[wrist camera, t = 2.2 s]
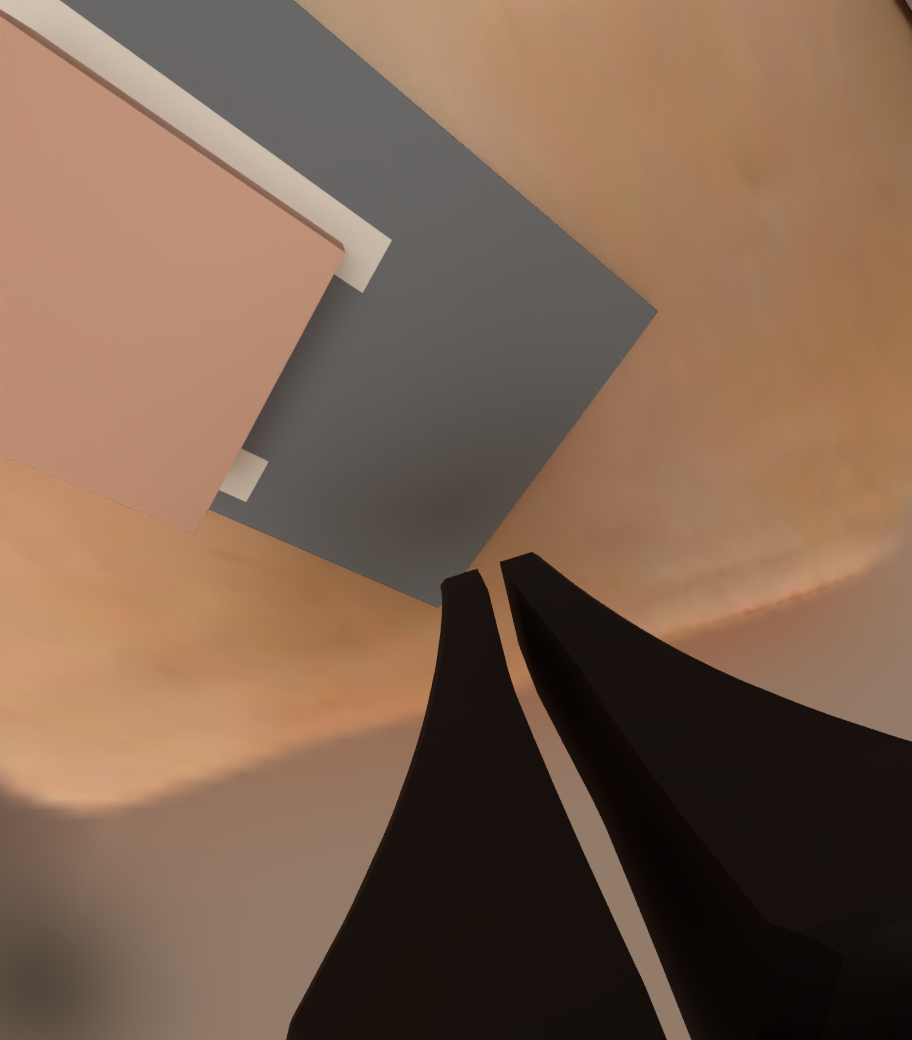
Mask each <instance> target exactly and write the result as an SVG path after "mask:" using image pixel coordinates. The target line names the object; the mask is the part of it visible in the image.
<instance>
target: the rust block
mask: <svg viewBox="0 0 912 1040" xmlns="http://www.w3.org/2000/svg"><path fill="white" fill-rule="evenodd" d="M344 254H345V250H344V246H343V243H342V242H340V241H339V240H337V239H336V238H334V237H333V236H331V235H330V234H328V233H327V232H326V231H324V230H323V229H321V228H320V227H318V226H317V225H315V224H314V223H313V222H311V221H310V220H308V219H307V218H305V217H304V216H302V215H301V214H300V213H298V212H297V211H295V210H294V209H292V208H291V207H289V206H288V205H287V204H285V203H284V202H282V201H281V200H279V199H278V198H276V197H275V196H273V195H272V194H271V193H269V192H268V191H266V190H265V189H263V188H262V187H260V186H259V185H258V184H256V183H255V182H253V181H252V180H250V179H249V178H247V177H246V176H245V175H243V174H242V173H240V172H239V171H237V170H236V169H234V168H233V167H232V166H230V165H229V164H227V163H226V162H224V161H223V160H221V159H220V158H218V157H217V156H216V155H214V154H213V153H211V152H210V151H208V150H207V149H205V148H204V147H203V146H201V145H200V144H198V143H197V142H195V141H194V140H192V139H191V138H190V137H188V136H187V135H185V134H184V133H182V132H181V131H179V130H178V129H177V128H175V127H174V126H172V125H171V124H169V123H168V122H166V121H165V120H163V119H162V118H161V117H159V116H158V115H156V114H155V113H153V112H152V111H150V110H149V109H148V108H146V107H145V106H143V105H142V104H140V103H139V102H137V101H136V100H135V99H133V98H132V97H130V96H129V95H127V94H126V93H124V92H123V91H122V90H120V89H119V88H117V87H116V86H114V85H113V84H111V83H110V82H108V81H107V80H106V79H104V78H103V77H101V76H100V75H98V74H97V73H95V72H94V71H93V70H91V69H90V68H88V67H87V66H85V65H84V64H82V63H81V62H80V61H78V60H77V59H75V58H74V57H72V56H71V55H69V54H68V53H67V52H65V51H64V50H62V49H61V48H59V47H58V46H56V45H55V44H53V43H52V42H51V41H49V40H48V39H46V38H45V37H43V36H42V35H40V34H39V33H38V32H36V31H35V30H33V29H32V28H30V27H28V26H27V25H25V24H24V23H22V22H20V21H19V20H17V19H15V18H14V17H12V16H11V15H9V14H7V13H6V12H4V11H2V10H1V9H0V456H3V457H5V458H8V459H10V460H12V461H15V462H17V463H20V464H22V465H25V466H27V467H30V468H32V469H35V470H37V471H39V472H42V473H44V474H47V475H49V476H52V477H54V478H57V479H59V480H62V481H64V482H66V483H69V484H71V485H74V486H76V487H79V488H81V489H84V490H86V491H89V492H91V493H93V494H96V495H98V496H101V497H103V498H106V499H108V500H111V501H113V502H116V503H118V504H120V505H123V506H125V507H128V508H130V509H133V510H135V511H138V512H140V513H143V514H145V515H147V516H150V517H152V518H155V519H157V520H160V521H162V522H165V523H167V524H170V525H172V526H174V527H177V528H179V529H182V530H184V531H187V532H189V533H192V534H194V535H195V534H196V532H197V530H198V528H199V526H200V524H201V522H202V520H203V519H204V517H205V515H206V513H207V511H208V509H209V507H210V505H211V504H212V502H213V500H214V498H215V496H216V494H217V492H218V490H219V489H220V487H221V485H222V483H223V481H224V479H225V477H226V475H227V474H228V472H229V470H230V468H231V466H232V464H233V462H234V460H235V459H236V457H237V455H238V453H239V451H240V449H241V447H242V445H243V444H244V442H245V440H246V438H247V436H248V434H249V432H250V430H251V429H252V427H253V425H254V423H255V421H256V419H257V417H258V415H259V414H260V412H261V410H262V408H263V406H264V404H265V402H266V400H267V399H268V397H269V395H270V393H271V391H272V389H273V387H274V385H275V384H276V382H277V380H278V378H279V376H280V374H281V372H282V370H283V369H284V367H285V365H286V363H287V361H288V359H289V357H290V356H291V354H292V352H293V350H294V348H295V346H296V344H297V342H298V341H299V339H300V337H301V335H302V333H303V331H304V329H305V327H306V326H307V324H308V322H309V320H310V318H311V316H312V314H313V312H314V311H315V309H316V307H317V305H318V303H319V301H320V299H321V297H322V296H323V294H324V292H325V290H326V288H327V286H328V284H329V282H330V281H331V279H332V277H333V275H334V273H335V271H336V269H337V267H338V266H339V264H340V262H341V260H342V258H343V256H344Z"/></svg>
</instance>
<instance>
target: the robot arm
mask: <svg viewBox="0 0 912 1040" xmlns="http://www.w3.org/2000/svg"><path fill="white" fill-rule="evenodd" d="M906 2H907V4H908V5H909V7H910V8H911V10H912V0H906ZM500 565H501V570H502V574H503V578H504V583H505V587H506V591H507V596H508V600H509V604H510V609H511V613H512V617H513V622H514V626H515V630H516V635H517V639H518V643H519V646H520V649H521V652H522V654H523V657H524V660H525V662H526V665H527V668H528V670H529V673H530V675H531V678H532V680H533V683H534V686H535V688H536V691H537V693H538V695H539V697H540V699H541V701H542V703H543V705H544V707H545V709H546V711H547V713H548V715H549V716H550V719H551V720H552V722H553V724H554V726H555V728H556V730H557V732H558V734H559V736H560V737H561V740H562V742H563V744H564V745H565V748H566V749H567V751H568V753H569V755H570V757H571V759H572V761H573V763H574V765H575V767H576V769H577V771H578V773H579V774H580V776H581V778H582V780H583V782H584V784H585V786H586V787H587V790H588V792H589V793H590V795H591V797H592V799H593V801H594V803H595V806H596V808H597V810H598V812H599V814H600V816H601V818H602V820H603V823H604V825H605V827H606V829H607V831H608V834H609V836H610V839H611V841H612V844H613V846H614V848H615V851H616V853H617V855H618V858H619V860H620V863H621V865H622V868H623V870H624V873H625V875H626V878H627V880H628V882H629V884H630V887H631V890H632V892H633V895H634V897H635V900H636V902H637V905H638V907H639V909H640V912H641V914H642V917H643V919H644V922H645V924H646V927H647V929H648V932H649V934H650V937H651V939H652V942H653V944H654V947H655V949H656V952H657V954H658V956H659V959H660V962H661V964H662V967H663V969H664V972H665V974H666V977H667V979H668V982H669V984H670V987H671V990H672V992H673V994H674V997H675V1000H676V1002H677V1005H678V1007H679V1009H680V1012H681V1015H682V1017H683V1020H684V1022H685V1025H686V1028H687V1030H688V1032H689V1035H690V1037H691V1040H912V742H911V741H908V740H904V739H901V738H898V737H895V736H892V735H888V734H885V733H882V732H879V731H876V730H873V729H870V728H867V727H864V726H861V725H858V724H855V723H852V722H849V721H846V720H843V719H840V718H837V717H834V716H831V715H828V714H826V713H823V712H820V711H817V710H815V709H812V708H809V707H806V706H804V705H801V704H799V703H796V702H794V701H791V700H788V699H786V698H784V697H781V696H778V695H776V694H774V693H771V692H769V691H766V690H764V689H761V688H759V687H756V686H754V685H751V684H749V683H746V682H744V681H742V680H739V679H737V678H735V677H733V676H730V675H728V674H726V673H724V672H722V671H719V670H717V669H715V668H713V667H711V666H709V665H707V664H705V663H703V662H701V661H699V660H697V659H695V658H693V657H691V656H689V655H687V654H685V653H683V652H681V651H680V650H678V649H676V648H674V647H672V646H670V645H669V644H667V643H665V642H663V641H661V640H660V639H658V638H656V637H654V636H653V635H651V634H649V633H648V632H646V631H644V630H643V629H641V628H639V627H638V626H636V625H634V624H633V623H631V622H629V621H628V620H626V619H625V618H623V617H622V616H620V615H618V614H617V613H615V612H614V611H612V610H611V609H609V608H608V607H606V606H605V605H604V604H602V603H601V602H599V601H598V600H596V599H595V598H593V597H592V596H590V595H589V594H587V593H586V592H585V591H583V590H582V589H580V588H579V587H578V586H576V585H575V584H574V583H572V582H571V581H570V580H568V579H567V578H566V577H564V576H563V575H562V574H561V573H559V572H558V571H557V570H556V569H554V568H553V567H552V566H551V565H549V564H548V563H547V562H546V561H544V560H543V559H542V558H541V557H540V556H538V555H536V554H535V553H533V552H531V553H527V554H524V555H521V556H518V557H514V558H511V559H508V560H505V561H501V562H500ZM440 587H441V593H442V620H441V633H440V640H439V647H438V654H437V662H436V668H435V673H434V678H433V682H432V687H431V691H430V696H429V701H428V705H427V710H426V714H425V717H424V721H423V725H422V729H421V732H420V736H419V739H418V742H417V745H416V749H415V752H414V755H413V758H412V761H411V764H410V767H409V770H408V773H407V776H406V779H405V781H404V784H403V787H402V790H401V792H400V795H399V798H398V800H397V803H396V806H395V809H394V811H393V814H392V816H391V819H390V821H389V824H388V826H387V829H386V831H385V833H384V836H383V838H382V841H381V843H380V845H379V847H378V849H377V851H376V854H375V856H374V858H373V860H372V862H371V865H370V867H369V869H368V871H367V873H366V876H365V878H364V880H363V882H362V884H361V886H360V889H359V891H358V893H357V895H356V897H355V900H354V902H353V904H352V906H351V908H350V910H349V912H348V914H347V916H346V918H345V920H344V922H343V924H342V926H341V928H340V930H339V932H338V934H337V936H336V937H335V939H334V941H333V943H332V945H331V947H330V948H329V950H328V952H327V954H326V956H325V958H324V960H323V962H322V963H321V965H320V967H319V969H318V971H317V973H316V975H315V977H314V978H313V980H312V982H311V984H310V986H309V988H308V990H307V992H306V993H305V995H304V997H303V999H302V1001H301V1003H300V1004H299V1006H298V1008H297V1010H296V1012H295V1014H294V1016H293V1018H292V1020H291V1022H290V1026H289V1030H288V1034H287V1039H286V1040H667V1039H666V1037H665V1034H664V1032H663V1029H662V1027H661V1024H660V1022H659V1019H658V1017H657V1014H656V1012H655V1010H654V1007H653V1004H652V1002H651V999H650V997H649V995H648V992H647V990H646V987H645V985H644V983H643V980H642V978H641V976H640V974H639V972H638V970H637V968H636V966H635V964H634V961H633V959H632V957H631V955H630V953H629V951H628V949H627V947H626V944H625V942H624V940H623V938H622V936H621V934H620V931H619V929H618V927H617V925H616V923H615V921H614V918H613V916H612V914H611V912H610V909H609V907H608V905H607V903H606V901H605V899H604V896H603V894H602V892H601V890H600V888H599V885H598V883H597V881H596V879H595V877H594V874H593V872H592V870H591V868H590V866H589V863H588V861H587V859H586V857H585V855H584V852H583V850H582V848H581V846H580V843H579V841H578V839H577V837H576V834H575V832H574V830H573V828H572V825H571V823H570V821H569V818H568V816H567V814H566V811H565V809H564V807H563V805H562V802H561V800H560V798H559V796H558V793H557V791H556V789H555V786H554V784H553V782H552V779H551V777H550V775H549V772H548V770H547V768H546V765H545V763H544V761H543V758H542V756H541V754H540V751H539V749H538V747H537V744H536V742H535V739H534V737H533V735H532V732H531V730H530V727H529V725H528V722H527V720H526V717H525V715H524V713H523V710H522V708H521V705H520V703H519V700H518V698H517V696H516V693H515V690H514V687H513V684H512V681H511V678H510V675H509V672H508V668H507V664H506V660H505V656H504V652H503V648H502V644H501V640H500V636H499V632H498V628H497V624H496V620H495V616H494V612H493V608H492V604H491V600H490V596H489V592H488V589H487V587H486V585H485V583H484V581H483V579H482V577H481V575H480V573H479V571H478V569H475V570H472V571H469V572H465V573H462V574H459V575H456V576H452V577H449V578H446V579H444V581H443V582H442V584H441V585H440Z"/></svg>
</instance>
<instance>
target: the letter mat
mask: <svg viewBox="0 0 912 1040" xmlns="http://www.w3.org/2000/svg"><path fill="white" fill-rule="evenodd" d="M0 9H1V10H2V11H4V12H6V13H7V14H9V15H11V16H12V17H14V18H15V19H17V20H19V21H20V22H22V23H24V24H25V25H27V26H28V27H30V28H32V29H33V30H35V31H36V32H38V33H39V34H40V35H42V36H43V37H45V38H46V39H48V40H49V41H51V42H52V43H53V44H55V45H56V46H58V47H59V48H61V49H62V50H64V51H65V52H67V53H68V54H69V55H71V56H72V57H74V58H75V59H77V60H78V61H80V62H81V63H82V64H84V65H85V66H87V67H88V68H90V69H91V70H93V71H94V72H95V73H97V74H98V75H100V76H101V77H103V78H104V79H106V80H107V81H108V82H110V83H111V84H113V85H114V86H116V87H117V88H119V89H120V90H122V91H123V92H124V93H126V94H127V95H129V96H130V97H132V98H133V99H135V100H136V101H137V102H139V103H140V104H142V105H143V106H145V107H146V108H148V109H149V110H150V111H152V112H153V113H155V114H156V115H158V116H159V117H161V118H162V119H163V120H165V121H166V122H168V123H169V124H171V125H172V126H174V127H175V128H177V129H178V130H179V131H181V132H182V133H184V134H185V135H187V136H188V137H190V138H191V139H192V140H194V141H195V142H197V143H198V144H200V145H201V146H203V147H204V148H205V149H207V150H208V151H210V152H211V153H213V154H214V155H216V156H217V157H218V158H220V159H221V160H223V161H224V162H226V163H227V164H229V165H230V166H232V167H233V168H234V169H236V170H237V171H239V172H240V173H242V174H243V175H245V176H246V177H247V178H249V179H250V180H252V181H253V182H255V183H256V184H258V185H259V186H260V187H262V188H263V189H265V190H266V191H268V192H269V193H271V194H272V195H273V196H275V197H276V198H278V199H279V200H281V201H282V202H284V203H285V204H287V205H288V206H289V207H291V208H292V209H294V210H295V211H297V212H298V213H300V214H301V215H302V216H304V217H305V218H307V219H308V220H310V221H311V222H313V223H314V224H315V225H317V226H318V227H320V228H321V229H323V230H324V231H326V232H327V233H328V234H330V235H331V236H333V237H334V238H336V239H337V240H339V241H340V242H342V243H343V246H344V250H345V254H344V256H343V258H342V260H341V262H340V264H339V266H338V267H337V269H336V271H335V273H334V275H333V277H332V279H331V281H330V282H329V284H328V286H327V288H326V290H325V292H324V294H323V296H322V297H321V299H320V301H319V303H318V305H317V307H316V309H315V311H314V312H313V314H312V316H311V318H310V320H309V322H308V324H307V326H306V327H305V329H304V331H303V333H302V335H301V337H300V339H299V341H298V342H297V344H296V346H295V348H294V350H293V352H292V354H291V356H290V357H289V359H288V361H287V363H286V365H285V367H284V369H283V370H282V372H281V374H280V376H279V378H278V380H277V382H276V384H275V385H274V387H273V389H272V391H271V393H270V395H269V397H268V399H267V400H266V402H265V404H264V406H263V408H262V410H261V412H260V414H259V415H258V417H257V419H256V421H255V423H254V425H253V427H252V429H251V430H250V432H249V434H248V436H247V438H246V440H245V442H244V444H243V445H242V447H241V449H240V451H239V453H238V455H237V457H236V459H235V460H234V462H233V464H232V466H231V468H230V470H229V472H228V474H227V475H226V477H225V479H224V481H223V483H222V485H221V487H220V489H219V490H218V492H217V494H216V496H215V498H214V500H213V502H212V504H211V505H210V507H209V510H212V511H214V512H216V513H219V514H221V515H223V516H226V517H228V518H230V519H233V520H235V521H237V522H240V523H242V524H244V525H246V526H249V527H251V528H253V529H256V530H258V531H260V532H263V533H265V534H267V535H270V536H272V537H274V538H277V539H279V540H281V541H284V542H286V543H288V544H291V545H293V546H295V547H298V548H300V549H302V550H305V551H307V552H309V553H312V554H314V555H316V556H319V557H321V558H323V559H326V560H328V561H330V562H333V563H335V564H337V565H339V566H342V567H344V568H346V569H349V570H351V571H353V572H356V573H358V574H360V575H363V576H365V577H367V578H370V579H372V580H374V581H377V582H379V583H381V584H384V585H386V586H388V587H391V588H393V589H395V590H398V591H400V592H402V593H405V594H407V595H409V596H412V597H414V598H416V599H419V600H421V601H423V602H426V603H428V604H430V605H432V606H435V607H437V608H438V607H439V606H440V605H441V603H442V593H441V587H440V585H441V584H442V582H443V581H444V579H446V578H449V577H452V576H456V575H459V574H462V573H464V572H465V571H466V570H467V568H468V567H469V566H470V564H471V563H472V561H473V560H474V559H475V557H476V556H477V555H478V553H479V552H480V551H481V549H482V548H483V547H484V545H485V544H486V543H487V541H488V540H489V539H490V537H491V536H492V535H493V533H494V532H495V530H496V529H497V528H498V526H499V525H500V524H501V522H502V521H503V520H504V518H505V517H506V516H507V514H508V513H509V512H510V510H511V509H512V508H513V506H514V505H515V504H516V502H517V501H518V499H519V498H520V497H521V495H522V494H523V493H524V491H525V490H526V489H527V487H528V486H529V485H530V483H531V482H532V481H533V479H534V478H535V477H536V475H537V474H538V473H539V471H540V470H541V468H542V467H543V466H544V464H545V463H546V462H547V460H548V459H549V458H550V456H551V455H552V454H553V452H554V451H555V450H556V448H557V447H558V446H559V444H560V443H561V442H562V440H563V439H564V438H565V436H566V435H567V433H568V432H569V431H570V429H571V428H572V427H573V425H574V424H575V423H576V421H577V420H578V419H579V417H580V416H581V415H582V413H583V412H584V411H585V409H586V408H587V407H588V405H589V404H590V402H591V401H592V400H593V398H594V397H595V396H596V394H597V393H598V392H599V390H600V389H601V388H602V386H603V385H604V384H605V382H606V381H607V380H608V378H609V377H610V376H611V374H612V373H613V371H614V370H615V369H616V367H617V366H618V365H619V363H620V362H621V361H622V359H623V358H624V357H625V355H626V354H627V353H628V351H629V350H630V349H631V347H632V346H633V345H634V343H635V342H636V340H637V339H638V338H639V336H640V335H641V334H642V332H643V331H644V330H645V328H646V327H647V326H648V324H649V323H650V322H651V320H652V319H653V318H654V316H655V315H656V314H657V312H658V311H657V310H656V309H655V308H654V307H653V306H651V305H650V304H649V303H648V302H647V301H646V300H644V299H643V298H642V297H641V296H640V295H639V294H637V293H636V292H635V291H634V290H633V289H632V288H630V287H629V286H628V285H627V284H626V283H624V282H623V281H622V280H621V279H620V278H619V277H617V276H616V275H615V274H614V273H613V272H612V271H610V270H609V269H608V268H607V267H606V266H605V265H603V264H602V263H601V262H600V261H599V260H598V259H596V258H595V257H594V256H593V255H592V254H591V253H589V252H588V251H587V250H586V249H585V248H583V247H582V246H581V245H580V244H579V243H578V242H576V241H575V240H574V239H573V238H572V237H571V236H569V235H568V234H567V233H566V232H565V231H564V230H562V229H561V228H560V227H559V226H558V225H557V224H555V223H554V222H553V221H552V220H551V219H549V218H548V217H547V216H546V215H545V214H544V213H542V212H541V211H540V210H539V209H538V208H537V207H535V206H534V205H533V204H532V203H531V202H530V201H528V200H527V199H526V198H525V197H524V196H523V195H521V194H520V193H519V192H518V191H517V190H515V189H514V188H513V187H512V186H511V185H510V184H508V183H507V182H506V181H505V180H504V179H503V178H501V177H500V176H499V175H498V174H497V173H496V172H494V171H493V170H492V169H491V168H490V167H489V166H487V165H486V164H485V163H484V162H483V161H481V160H480V159H479V158H478V157H477V156H476V155H474V154H473V153H472V152H471V151H470V150H469V149H467V148H466V147H465V146H464V145H463V144H462V143H460V142H459V141H458V140H457V139H456V138H455V137H453V136H452V135H451V134H450V133H449V132H447V131H446V130H445V129H444V128H443V127H442V126H440V125H439V124H438V123H437V122H436V121H435V120H433V119H432V118H431V117H430V116H429V115H428V114H426V113H425V112H424V111H423V110H422V109H421V108H419V107H418V106H417V105H416V104H415V103H413V102H412V101H411V100H410V99H409V98H408V97H406V96H405V95H404V94H403V93H402V92H401V91H399V90H398V89H397V88H396V87H395V86H394V85H392V84H391V83H390V82H389V81H388V80H387V79H385V78H384V77H383V76H382V75H381V74H379V73H378V72H377V71H376V70H375V69H374V68H372V67H371V66H370V65H369V64H368V63H367V62H365V61H364V60H363V59H362V58H361V57H360V56H358V55H357V54H356V53H355V52H354V51H353V50H351V49H350V48H349V47H348V46H347V45H345V44H344V43H343V42H342V41H341V40H340V39H338V38H337V37H336V36H335V35H334V34H333V33H331V32H330V31H329V30H328V29H327V28H326V27H324V26H323V25H322V24H321V23H320V22H319V21H317V20H316V19H315V18H314V17H313V16H312V15H310V14H309V13H308V12H307V11H306V10H304V9H303V8H302V7H301V6H300V5H299V4H297V3H296V2H295V1H294V0H0Z"/></svg>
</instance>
